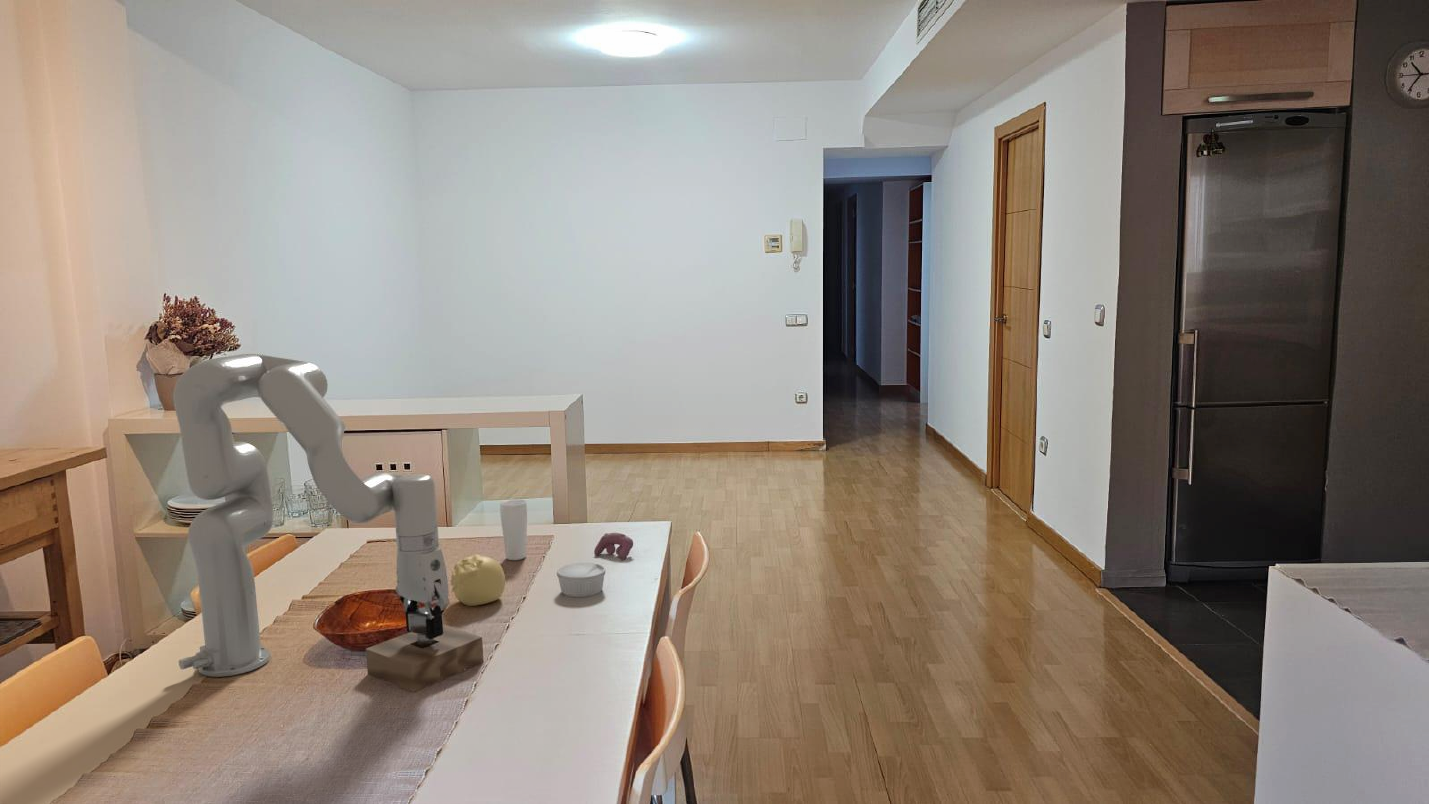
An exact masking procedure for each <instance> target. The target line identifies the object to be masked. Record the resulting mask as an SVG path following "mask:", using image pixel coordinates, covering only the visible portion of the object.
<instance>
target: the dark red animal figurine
mask: <svg viewBox="0 0 1429 804" xmlns="http://www.w3.org/2000/svg"><path fill="white" fill-rule="evenodd" d="M616 545H618V546H617V548H616ZM633 547H634V540H633V539H632V538H630V537H629V536H628V535H626V534H623V533H619V532H610V533H604V535H603V536H601V538H600V540H599V541H598V543H597V544H596V546H595V548H594V551H593V554H594V555H595V556H596V555H598V556H600V555H601V554H602V553H603V552H604V550H606V553H607V554H609V555H613V554H616V555H617V556H619V559H620V561H623V560H626V558H627V557H628V556H629V555H630V553H631V550H632V548H633ZM599 554H600V555H599Z"/></svg>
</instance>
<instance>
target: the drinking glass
mask: <svg viewBox="0 0 1429 804" xmlns="http://www.w3.org/2000/svg"><path fill="white" fill-rule="evenodd" d="M499 509H500V513H499V515H500V523H501V528H502V529H501V531H502V535H503V544H504V550H505V551H504V552H505V558H506V560H508V561H520V560H523V559H525V558H526V557H527V534H528V532H527V531H528V510H527V509H528V506H527V500H524V499H518V498H517V499H507V500H503V501H501V502H500V508H499Z"/></svg>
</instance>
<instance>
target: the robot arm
mask: <svg viewBox="0 0 1429 804" xmlns="http://www.w3.org/2000/svg"><path fill="white" fill-rule="evenodd" d="M328 387H329V385H328V379H327V377H326V375H325V373H324V371H322V370H321V368H319V367H318V366H317V365H315V364H313V363H311V362H308V361H305V360H298V359H292V358H291V359H290V358H283V357H278V356H270V355H265V354H258V353H257V354H256V353H244V354H238V355H237V354H235V355H230V356H222V357H216V358H211V359H207V360H202V361H200V362H198V363H196V364H194V365H192V366H190V367H188V368H187V369H186V370H185V371H184V372H183V373H181V374H180V376H179V377H178V379H177V381H176V382H175V385H174V389H173V395H172V397H173V405H174V410H175V414H176V418H177V422H178V427H179V430H180V437H181V445H182V450H183V453H182V454H183V458H184V464H185V470H186V471H185V472H186V477H187V482H188V484H189V485H188V486H189V488H190V490H191V492H192V494H193V495H195V496H196V497H197V498H198V499H201V500H205V501H212V500H217V499H222V498H224V502H220V503H217V504H215V505H213V506H210V507H208V508H206V509H205V510H203V511H201V512H200V513H198V514H197V515H196V516H195V517H194V518H193V519H192V521H191V523H190V525H189V527H188V530H187V531H188V533H187V540H188V545H189V547H190V551H191V553H192V557H193V560H194V563H195V567H196V568H195V569H196V574H197V575H196V576H197V580H198V581H197V582H198V590H199V598H200V609H201V617H202V628H203V636H204V637H203V638H204V645H202V646H199V651H198V652H196V653H195V655H192V656H187V657H183V658H181V659H179V661H178V666H179V669H180V670H186V669H188V668H189V669H190V668H191V667H192V668H193V670H197V671H198V672H199V673H200V675H203V676H206V677H213V678H217V677H218V678H220V677H231V676H236V675H241V674H245V673H247V672H248V673H249V672H251V671H254V670H256V669H259V668H261V667H263V666H264V665H266V664H267V663H268V662H269V661H270V659H271V651H270V650H269V649H268V648H266V647H264V646H261V645H262V644H261V636H260V635H261V633H260V632H261V631H260V624H259V622H260V621H259V611H258V603H257V589H256V582H255V573H254V568H253V565H252V563H251V562H252V561H251V560H250V559H249V558H250V557H248V555H247V553H246V550H245V547H247V546H249V545H251V544H253V543H254V542H255V543H256V541H258V540H260V539H262V538H264V537H265V536H266V535H267V534H268V533H269V532H270V530H271V529H272V527H273V523H274V506H273V498H272V491H271V484H270V480H269V479H270V478H269V472H268V466H267V463H266V459H265V458H264V456H263V454H262V452H261V451H260V450H259V449H258V448H257V447H256V446H254V445H253V444H251V443H249V442H245V441H234V437H233V429H232V423H231V422H230V419H229V417H228V416H227V414H226V412H225V411H224V409H223V408H222V406H224V405H226V404H228V403H233V402H238V401H243V400H247V399H251V398H260V399H261V401H262V402H263V404H264V405H265V406H266V407H267V408H268V410H269V411H270V412H271V413H272V414H273V416H275V418H276V419H277V421H279V422H280V423H281V425H282V426H283V427H284V428H285V429H286V431H287V432H288V433H289V434H290V435H291V436H292V437H293V438H294V440H295V441H296V442H297V444H299V446H300V447H301V449H303V451H304V452H305V454H306V460H307V464H308V468H309V471H310V474H311V477H312V480H313V482H314V484H315V486H316V488H317V489H318V491H319V492H320V493H321V495H322V496H323V497H324V498H325V500H326V501H327V502H328V503H329V504H330V506H331V507H333V509H334V510H335V511H336V512H337V513H338V514H339V515H340V517H342V518H344V519H345V520H347V521H348V522H351V523H354V524H366V523H369V522H371V521H373V520H375V519H377V518H379V517H380V516H381V515H384V514H387V513H389V512H391V511H393V512H394V513H393V514H394V524H395V536H396V537H395V538H396V540H395V541H396V549H397V551H396V584H397V585H396V586H395V592H396V594H397V595H398V597H399V599H400V602H401V604H402V610H403V611H404V615H405V626H406V632H407V633H410V631H409V621H408V613H409V612H410V611H412V610H415V609H418V608H421V607H419V606H420V603H421V604H423V605H424V607H425V608H426V611H427V615H428V618H427V619H426V627H427V638H428V639H433V638H436V637H438V636H441V635H443V625H444V624H443V616H444V615H445V614H444V613H445V611H446V610H447V608H448V606H449V605H450V604H451V600H450V599H449V596H450V595H449V594H450V593H449V592H450V591H449V580H448V574H447V567H446V561H445V558H444V554H443V551H442V547H440V541H439V539H440V538H439V527H438V526H439V525H438V513H437V511H438V510H437V499H436V497H437V496H436V485H435V481H434V479H433V477H432V476H431V475H428V474H424V473H421V474H420V473H419V474H418V473H416V474H414V473H413V474H407V475H405V474H403V475H402V474H397V473H392V472H391V473H390V472H375V473H373V474H371V475H368V476H366V477H363V478H360V476H359V475H357V473H356V472H355V470H354V469H352V467H351V466H350V465H349V463H348V462H347V459H346V458H345V456H344V452H343V448H342V447H343V444H342V443H343V442H342V441H343V437H344V433H345V428H346V425H345V422H344V421H343V419H342V418H341V417H340V416H339V415H338V414H337V413H336V411H335V410H334V409H333V408H332V407H331V406H330V404H329V402H327V401H326V400H325V399H324V398H325V396H326V394H327V391H328ZM434 604H435V606H434V609H433V610H432V607H433V606H432V605H434Z"/></svg>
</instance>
